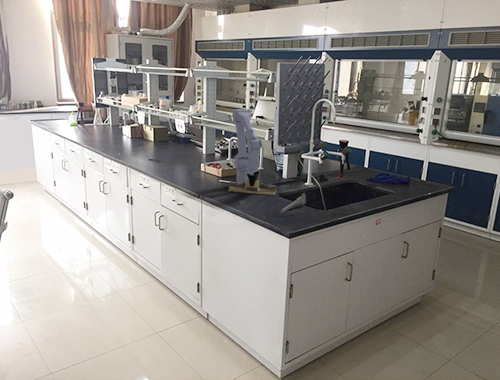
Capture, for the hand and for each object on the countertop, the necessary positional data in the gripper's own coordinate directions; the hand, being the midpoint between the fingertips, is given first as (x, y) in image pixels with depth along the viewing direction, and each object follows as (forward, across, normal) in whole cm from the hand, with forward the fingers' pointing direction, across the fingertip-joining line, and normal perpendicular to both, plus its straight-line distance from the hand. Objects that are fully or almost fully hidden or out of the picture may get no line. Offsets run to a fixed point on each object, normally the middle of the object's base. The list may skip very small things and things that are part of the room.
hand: (252, 184), depth 231 cm
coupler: (+3, 0, 0) cm, 3 cm away
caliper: (+4, +24, +24) cm, 34 cm away
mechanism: (+4, 0, 0) cm, 4 cm away
